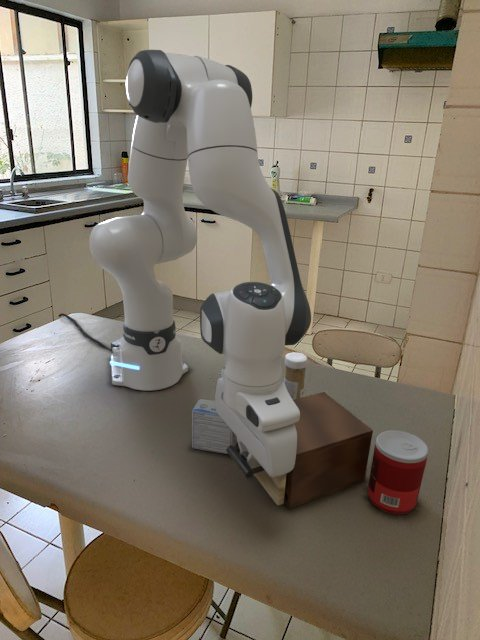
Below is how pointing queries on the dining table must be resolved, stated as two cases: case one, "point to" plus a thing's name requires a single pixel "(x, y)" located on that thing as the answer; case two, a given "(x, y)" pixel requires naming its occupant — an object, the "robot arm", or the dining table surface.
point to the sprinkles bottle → (295, 374)
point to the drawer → (262, 476)
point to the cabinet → (326, 450)
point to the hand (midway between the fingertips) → (248, 463)
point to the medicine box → (210, 429)
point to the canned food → (397, 471)
